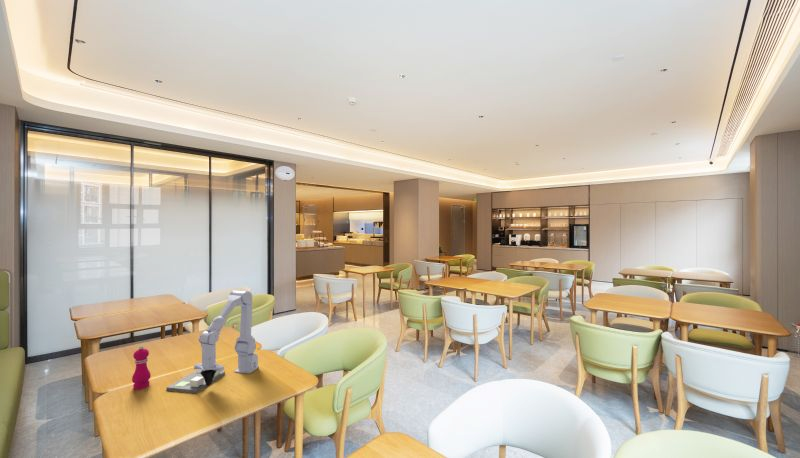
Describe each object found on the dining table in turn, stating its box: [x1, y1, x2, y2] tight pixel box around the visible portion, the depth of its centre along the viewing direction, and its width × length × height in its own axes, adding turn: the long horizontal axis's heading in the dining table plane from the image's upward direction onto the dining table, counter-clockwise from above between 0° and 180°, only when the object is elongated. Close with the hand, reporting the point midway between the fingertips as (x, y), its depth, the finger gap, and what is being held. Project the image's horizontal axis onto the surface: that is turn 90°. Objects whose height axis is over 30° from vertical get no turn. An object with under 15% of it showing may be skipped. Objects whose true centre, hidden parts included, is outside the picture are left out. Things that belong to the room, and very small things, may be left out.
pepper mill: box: [131, 345, 151, 391], centre depth 163 cm, size 7×7×20 cm
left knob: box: [190, 376, 204, 387], centre depth 162 cm, size 4×4×3 cm
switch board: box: [166, 369, 226, 394], centre depth 168 cm, size 16×20×2 cm
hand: (208, 384), depth 160 cm, fingers closed
